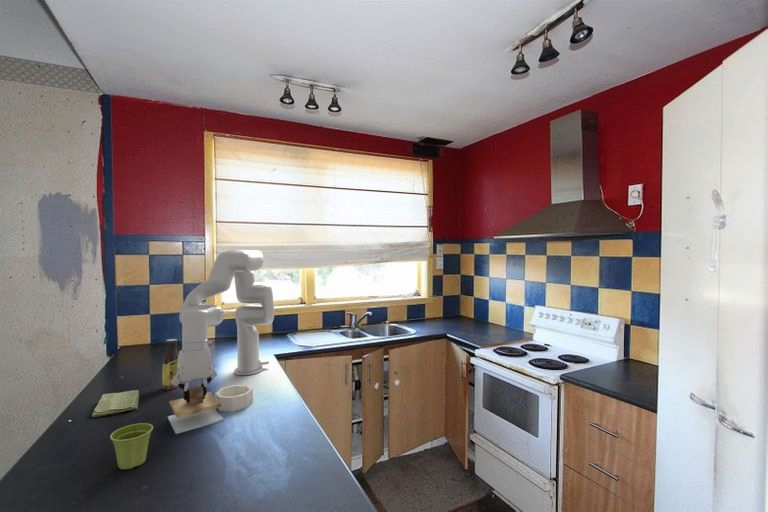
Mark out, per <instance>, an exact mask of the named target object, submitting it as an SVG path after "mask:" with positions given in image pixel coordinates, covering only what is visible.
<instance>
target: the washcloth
mask: <svg viewBox="0 0 768 512" xmlns="http://www.w3.org/2000/svg"><path fill="white" fill-rule="evenodd" d="M139 399H140V390H138V389H137V390H135V389H134V390H129V391H128V390H127V391H123V392H112V393H111V392H110V393H104V394H102V395H101V396H100V399H99V400H98V403H97V405H96V406H95V408H94V409H93V412H92V414H91V417H92V418H98V417H104V416H107V415H116V414H120V413H123V412H129V411H136V410H137V409H138V406H139Z"/></svg>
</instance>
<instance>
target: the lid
mask: <svg viewBox="0 0 768 512" xmlns="http://www.w3.org/2000/svg"><path fill="white" fill-rule="evenodd" d="M188 388H189V392H190V402H189V403H187V402H186V400H184V397H182V398H178V399H174V400H173V399H172V400H169V406H170V408H171V410H172V412H173V415H176V417H177V418H180V417H184V416H188V415H192V414H196V413H200V412H203V411H207V410H211V409H217V408H219V407H221V403H220V402H219V401H218V399H217V398H216V397H215V395H214V394H213V392H212V391H209V392H208V391H207V392H206V395H205V399H203V387H202V386H201V384H197V385H191V386H188Z"/></svg>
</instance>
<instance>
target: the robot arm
mask: <svg viewBox="0 0 768 512" xmlns="http://www.w3.org/2000/svg"><path fill="white" fill-rule="evenodd" d="M263 264H264V256H263V253H262V252H261V251H260V250H257V249H253V250H252V249H250V250H249V249H229V250H225V251H223V252H221V253H219V254H218V255H217V256H216V258H215V261H214V263H213V266H212V268H211V270H210V272H209V274H208V277H207V279H205V281H203V282H202V283H200V284H199V285H197V286H196V287H195V288H193V289H192V290H191V291H190V292H189V293H188V295H186V297H185V298H184V299H185V300H184V301H183V303H182V305H181V308H180V312H179V322H180V323H181V324H182V325H181V326H182V328H181V329H182V331H181V336H182V337H181V342H182V343H181V344H182V345H181V346H182V348H181V350H179V351H178V355H179V356H178V364H177V374H176V376H175V377H174V379H173V380H172V382H171V383H172V385H175V386H178V387H177V388H180V389H181V390H183V398H184V400H186V402H187V403H189V402H190V392H189V388H188V387H190V382H192V381H198V380H201V381H200V382H201V384H200V385H201V386H202V387H203V399H205V395H206V393H207V387H208V385H209V384H210V383H211V382H212V381H213V379H215V378H216V377H217V376H218V373H217V372H216V371H215V369H214V368H213V363H212V353H211V350H210V347H209V345H212V344H213V340H212V339H208V328H210V327H212V328H213V327H216V326H219V325H220V324H221V323H222V322H223V321H224V317H225V311H224V310H223V308H222V307H221V306H219V305H214V304H210V305H209V304H201V303H203V301H206V300H207V299H209V298H212V297H215V296H217V295H220V294H222V293H225V292H226V291H228V290H229V289H230V287H231V284H232V282H233V278H234V286H235V293H236V294H235V296H236V299H237V301H238V302H239V303H240V304H242V305H239V306H237V308H236V309H235V311H234V313H235V314H234V316H235V324H236V329H237V330H236V331H237V367H236V368H234V370H233V373H234V374H235V375H236V376H250V375H256V374H258V373H261V372H262V371H263V365H265V366H266V365H269V364H270V361H269V359H267V360H264V359H261V360H260V343H259V342H260V339H259V338H260V333H259V330H258V329H257V327H256V326H267V325H271V324H273V321H274V319H275V307H274V305H275V304H274V296H273V294H274V293H273V289H272V286H271V285H270V284H269V283H265V282H256V280H255V273H254V272H255V271H258V270H260V269H261V268H262V266H263ZM178 380H179V382H178Z"/></svg>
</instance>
